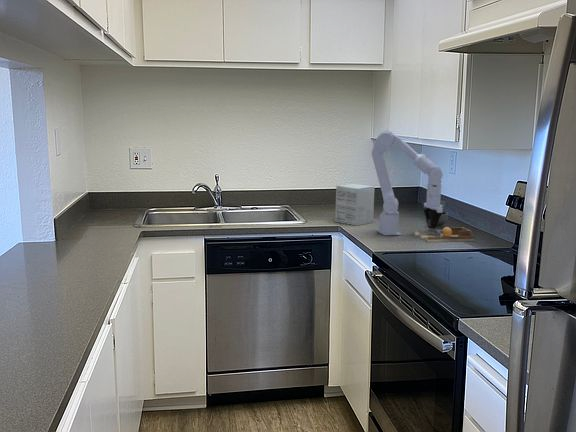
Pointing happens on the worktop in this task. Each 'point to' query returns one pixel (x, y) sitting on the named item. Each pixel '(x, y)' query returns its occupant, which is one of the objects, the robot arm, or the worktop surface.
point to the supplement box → (354, 204)
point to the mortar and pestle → (442, 217)
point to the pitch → (456, 236)
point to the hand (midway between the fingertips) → (431, 226)
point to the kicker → (433, 229)
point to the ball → (446, 231)
